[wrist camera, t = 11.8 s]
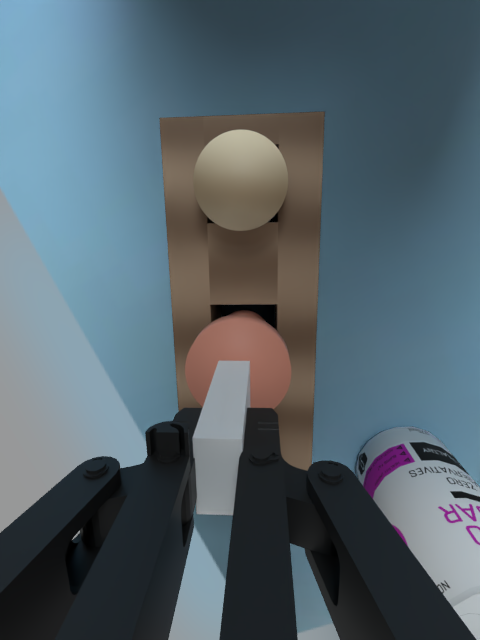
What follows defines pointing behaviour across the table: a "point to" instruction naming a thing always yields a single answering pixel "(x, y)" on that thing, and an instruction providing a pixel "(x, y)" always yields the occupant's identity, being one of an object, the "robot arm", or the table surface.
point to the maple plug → (240, 180)
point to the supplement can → (429, 510)
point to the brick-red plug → (241, 357)
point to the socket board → (249, 256)
